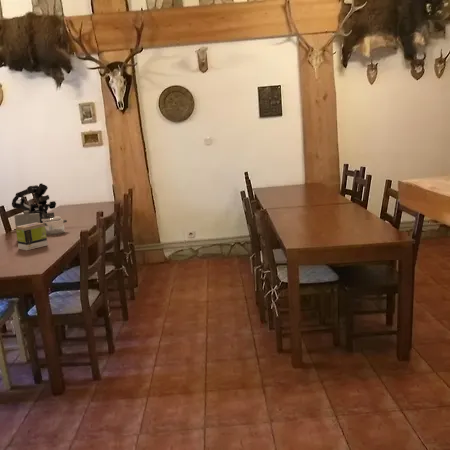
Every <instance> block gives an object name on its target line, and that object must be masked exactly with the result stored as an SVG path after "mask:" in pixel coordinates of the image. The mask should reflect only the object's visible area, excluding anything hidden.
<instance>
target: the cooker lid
mask: <svg viewBox="0 0 450 450" xmlns="http://www.w3.org/2000/svg"><path fill="white" fill-rule="evenodd" d="M42 215H43V218H42V219H41V220H42V221H43V222H44V221H56V220H60V219H62V217H61V216H56V215H55V212H47V213H45V214H42Z"/></svg>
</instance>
